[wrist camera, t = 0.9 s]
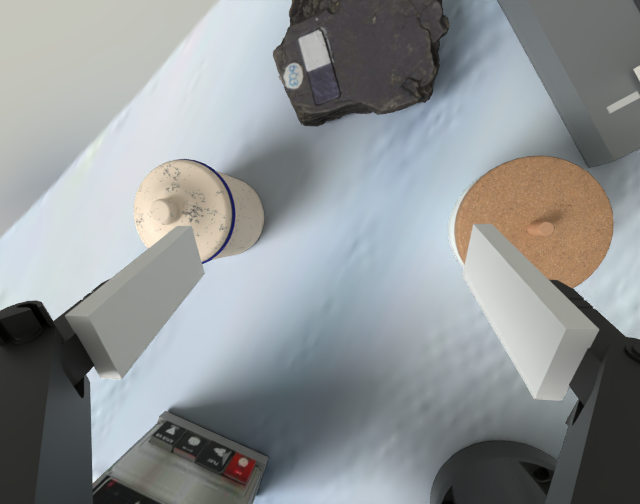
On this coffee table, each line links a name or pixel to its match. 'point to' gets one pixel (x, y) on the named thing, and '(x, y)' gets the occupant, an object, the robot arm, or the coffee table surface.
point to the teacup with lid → (198, 208)
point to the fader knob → (637, 72)
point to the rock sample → (359, 56)
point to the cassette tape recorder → (182, 468)
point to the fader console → (586, 68)
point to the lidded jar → (539, 215)
